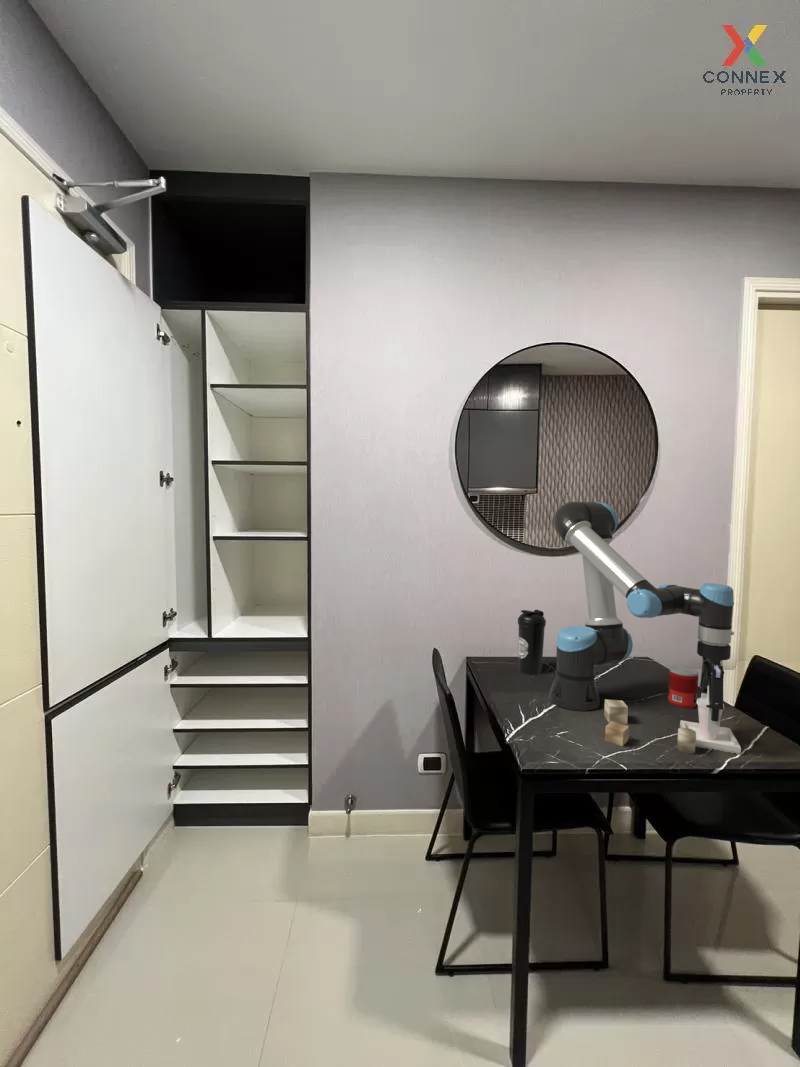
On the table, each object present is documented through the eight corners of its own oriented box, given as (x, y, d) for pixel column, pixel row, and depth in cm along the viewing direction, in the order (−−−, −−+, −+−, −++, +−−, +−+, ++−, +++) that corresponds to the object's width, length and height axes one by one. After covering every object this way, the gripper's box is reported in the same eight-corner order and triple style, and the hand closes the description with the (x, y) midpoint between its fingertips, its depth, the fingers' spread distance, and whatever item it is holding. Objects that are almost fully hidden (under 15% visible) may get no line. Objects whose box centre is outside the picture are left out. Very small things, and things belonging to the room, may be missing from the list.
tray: (686, 744, 129) (686, 738, 129) (679, 726, 140) (680, 720, 140) (740, 754, 125) (740, 747, 125) (729, 734, 136) (729, 728, 136)
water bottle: (511, 667, 189) (513, 608, 188) (534, 665, 192) (536, 607, 191) (525, 676, 179) (527, 614, 178) (549, 674, 182) (551, 612, 181)
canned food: (700, 709, 152) (702, 675, 152) (672, 707, 154) (674, 672, 153) (691, 700, 160) (693, 667, 159) (664, 698, 161) (666, 665, 161)
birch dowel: (678, 751, 126) (679, 732, 125) (676, 744, 129) (677, 726, 129) (696, 755, 124) (697, 735, 124) (693, 748, 128) (694, 729, 128)
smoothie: (696, 729, 137) (699, 680, 137) (723, 736, 133) (727, 686, 133) (692, 737, 133) (695, 686, 132) (720, 744, 128) (723, 692, 128)
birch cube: (609, 723, 142) (609, 706, 142) (604, 715, 147) (604, 699, 147) (627, 724, 141) (627, 707, 141) (621, 716, 146) (622, 700, 146)
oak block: (604, 740, 131) (605, 726, 131) (611, 735, 134) (611, 721, 134) (622, 746, 128) (623, 731, 128) (628, 740, 131) (628, 726, 131)
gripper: (741, 655, 120) (735, 745, 121) (721, 634, 140) (716, 711, 141) (705, 651, 122) (700, 738, 124) (691, 631, 143) (687, 706, 144)
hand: (709, 724), depth 132 cm, fingers open, 9 cm apart
